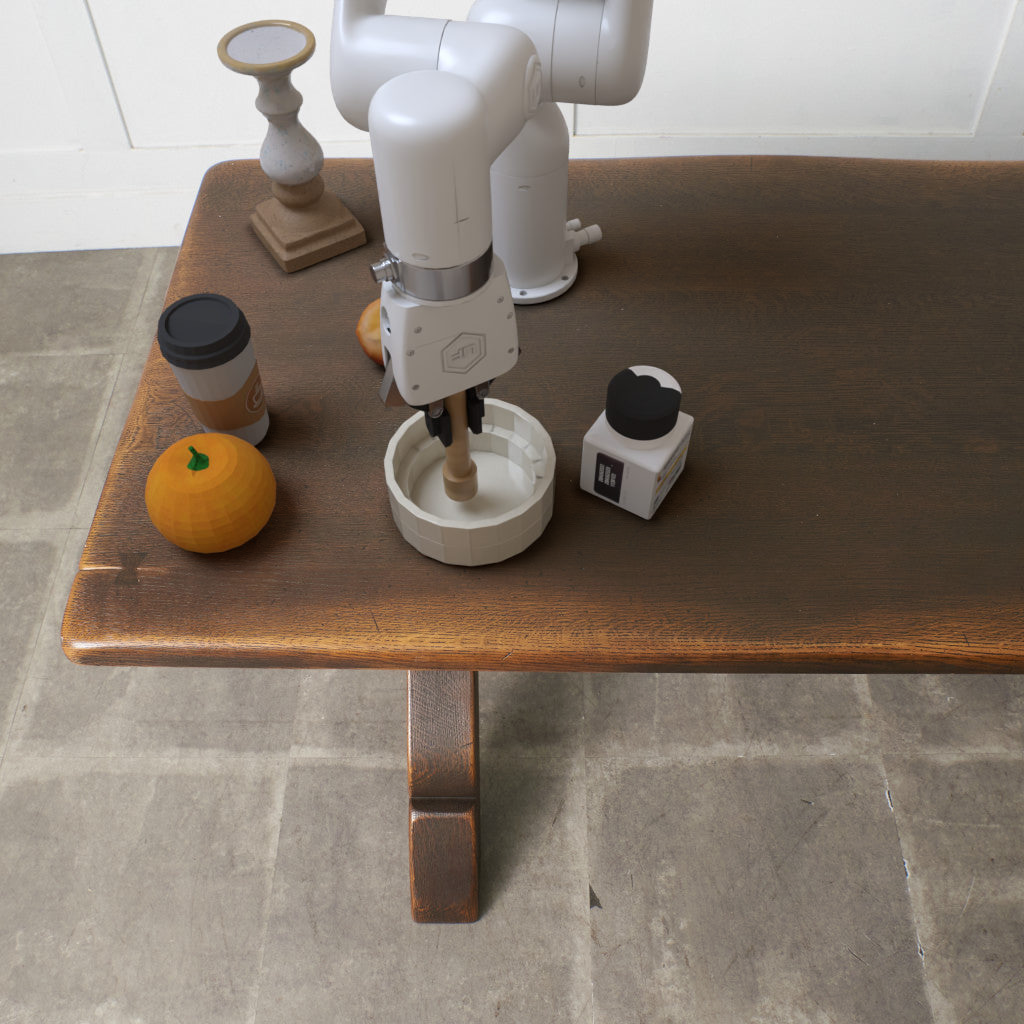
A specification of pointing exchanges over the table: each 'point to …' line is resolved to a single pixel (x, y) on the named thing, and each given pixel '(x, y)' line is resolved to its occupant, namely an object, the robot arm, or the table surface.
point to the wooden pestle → (459, 453)
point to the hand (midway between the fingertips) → (456, 428)
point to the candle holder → (289, 149)
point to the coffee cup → (215, 364)
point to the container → (637, 441)
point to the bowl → (501, 488)
